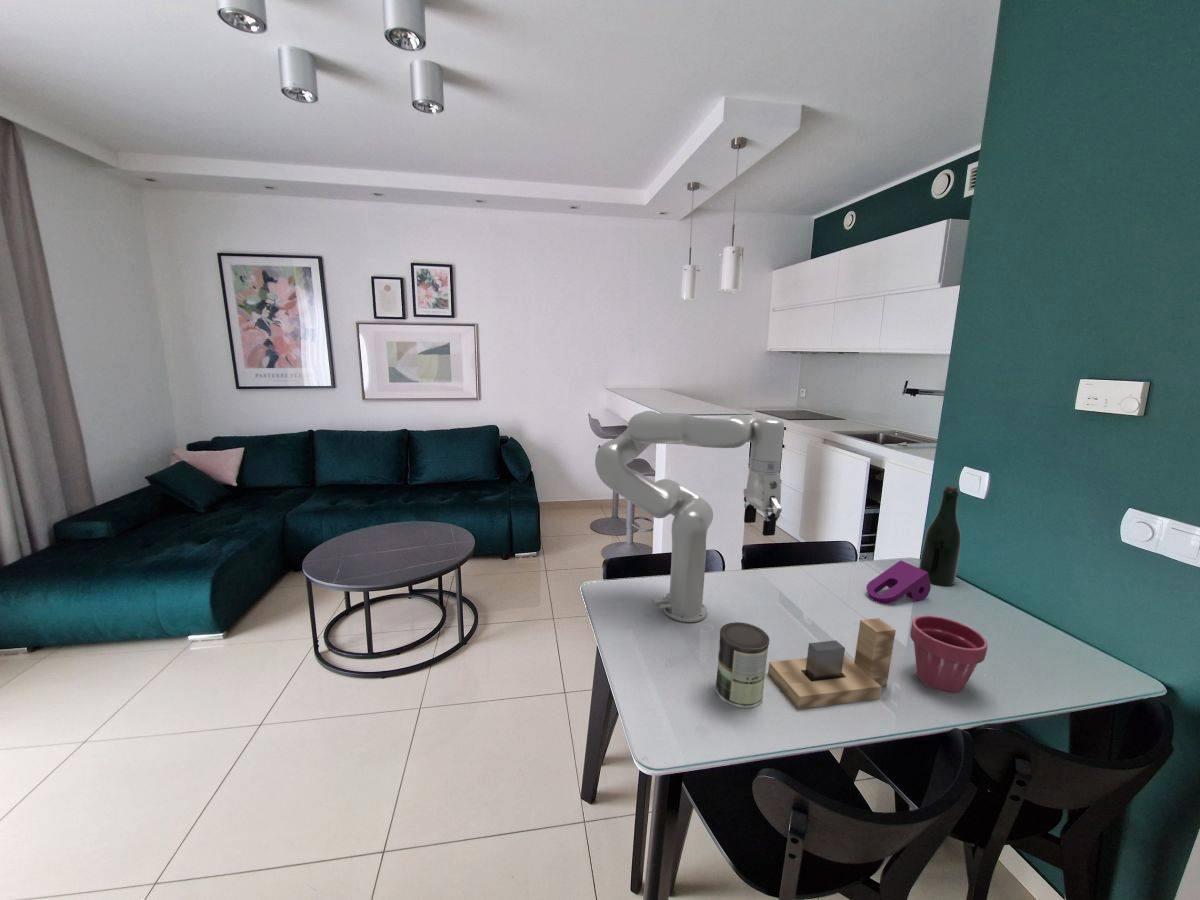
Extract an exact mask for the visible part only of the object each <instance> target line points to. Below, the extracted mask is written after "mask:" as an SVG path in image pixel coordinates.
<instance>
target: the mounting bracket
mask: <svg viewBox="0 0 1200 900" xmlns="http://www.w3.org/2000/svg"><path fill="white" fill-rule="evenodd" d="M931 584H932V583H930V579H929V575H928V572H926V571H924V570H922V569H919V567H917V566H914V565H912V564H910V563H908V562H906V561H904V560H902V559H901V560H898V561H897V562H896V563H895V564H893V565H892V566H890V567H889V568H887V569H886V570H885V571H883V572H882V573H880V574H879V575H877V576H876V577H874V578H873V579H872V580H870V581H868V583H867V584H866V593H867V596H868V598H869V597H870V598H869V599H871V600H872V599H873V600H872V601H874V602H876V601H877V602H876V603H878V602H879V603H878V604H881V603H883V604H885V605H886V604H888V605H889V604H893V603H895V602H897V601H899V600H900V599H902V598H903V597H904V596H906V598H908V599H910V600H912V601H914V602H915V603H916V602H917V603H918V602H922V601H925V599H926V598H927V597H928V596H929V594H930V592H931V587H932V585H931ZM886 587H887V588H888V589H887V590H886V591H885V592H883V593H879V592H880V591H883V589H885V588H886ZM883 604H882V605H883Z"/></svg>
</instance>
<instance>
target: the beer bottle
mask: <svg viewBox="0 0 1200 900" xmlns="http://www.w3.org/2000/svg"><path fill="white" fill-rule="evenodd" d="M958 490H959V489H958V487H957V486H952V485H947V486H945V487H944V489H943V491H942V495H941V496H942V497H941V502H940V504H939V505H940V506H939V509H938V512H937V514H936V515H935V517H934V519H933V520H932V521H931V522H930V524H929V526H928V528H927V529H926V532H925V537H924V540H923V546H922V551H921V555H920V556H921V557H920V560H919V567H918V568H919V569H922V570H924V571H926V572H928V575H929V579H930V584H932V585H938V586H942V587H943V586H945V587H947V586H949V587H950V586H952V585H954V584H955V582H956V577H957V570H958V565H959V558H960V552H961V546H962V545H961V544H962V533H961V529H960V525H959V522H958V519H957V518H958V517H957V507H958V506H957V505H958V499H959V496H960V493H959V491H958Z"/></svg>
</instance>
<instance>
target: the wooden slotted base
mask: <svg viewBox="0 0 1200 900" xmlns="http://www.w3.org/2000/svg"><path fill="white" fill-rule="evenodd" d="M858 627H859V629H858V635H857V641H856V642H857V643H856V647H855V655H854V661H853V660H852V659H851V658H849V657H848V655H846V654H845V653H844V659H843V666H842V674H841V678H837V679H829V680H820V681H812V682H811V681H810V680H809V679H808V678H807V677H806V676H805V671H806V662H807V657H805V658H804V657H802V658H795V659H784V660H777V661H776V660H775V661H769V662H768V671H767V674H768V676H769V677H770V678H772V680H773V682H775V684H776V685H777V686H778V687H779V689H780V690H781V691H782V692H783V693H784V694H785V696H786V697H787V698H788V699H789V701H791V703H792V704H793V705H794V706H795V707H796V709H797V708H798V710H801V709H811V708H819V707H825V706H831V705H833V706H835V705H839V704H840V705H841V704H847V703H855V702H862V701H870V700H877V699H880V698H881V690H882V687H885V686H888V682H889V676H890V675H889V673H890V670H891V669H890V668H891V662H892V655H893V649H894V642H895V637H896V631H897V630H896V629H895V628H894V627H892V626H891V625H890V624H888V623H886V621H884V620H882V619H881V618H880V617H879V618H876V617H875V618H870V619H869V618H868V619H860V620H859V626H858ZM818 706H819V707H818Z"/></svg>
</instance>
